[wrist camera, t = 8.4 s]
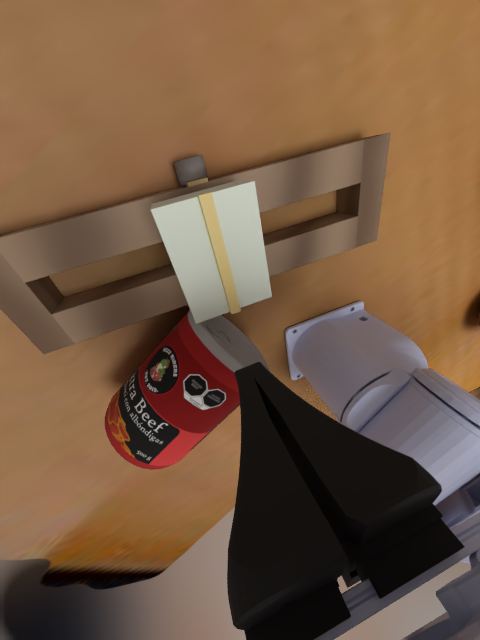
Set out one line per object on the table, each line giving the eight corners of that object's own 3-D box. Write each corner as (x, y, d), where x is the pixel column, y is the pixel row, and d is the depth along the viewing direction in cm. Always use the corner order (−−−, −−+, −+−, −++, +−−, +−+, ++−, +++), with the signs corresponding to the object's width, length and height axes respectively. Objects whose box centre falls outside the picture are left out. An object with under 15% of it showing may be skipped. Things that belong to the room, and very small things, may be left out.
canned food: (92, 388, 19) (178, 289, 17) (168, 392, 25) (236, 321, 23) (111, 488, 14) (230, 370, 12) (197, 462, 21) (284, 381, 19)
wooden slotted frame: (363, 115, 16) (393, 106, 14) (354, 248, 22) (374, 255, 20) (-43, 217, 13) (-80, 225, 11) (67, 346, 18) (56, 367, 16)
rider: (225, 179, 15) (256, 179, 11) (244, 270, 19) (274, 299, 14) (151, 199, 15) (150, 208, 10) (186, 289, 18) (196, 327, 14)
